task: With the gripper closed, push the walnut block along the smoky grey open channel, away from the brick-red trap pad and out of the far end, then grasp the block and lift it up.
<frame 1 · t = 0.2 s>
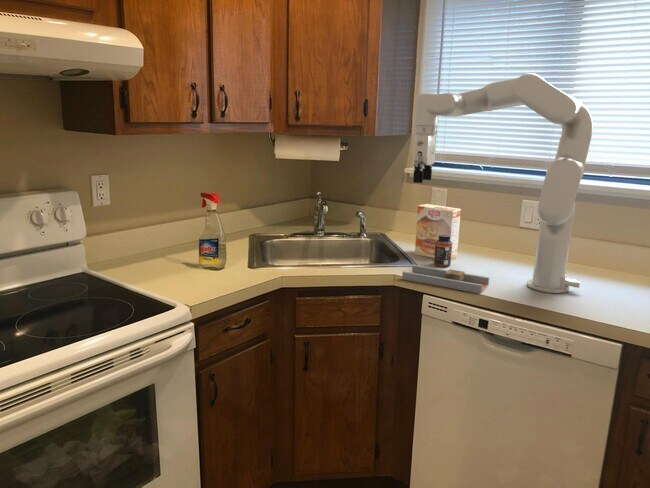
hand: (422, 181, 188), 31 cm above the worktop, fingers open, 9 cm apart
walnut block: (453, 284, 176), on the worktop
channel: (445, 281, 178), on the worktop
coffeecake box: (435, 256, 210), on the worktop
supplement bottle: (442, 265, 197), on the worktop
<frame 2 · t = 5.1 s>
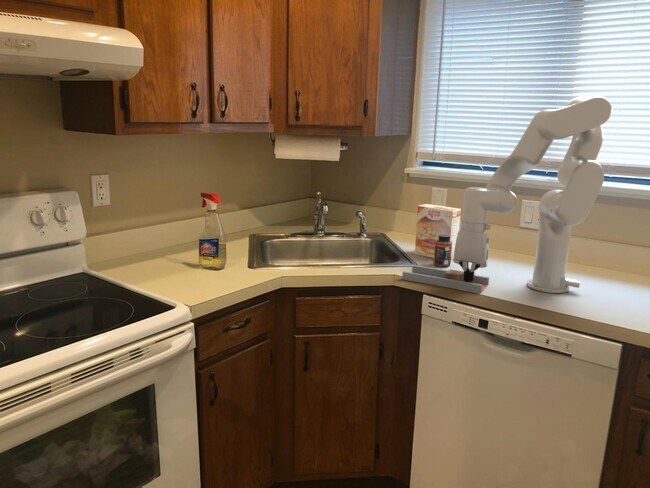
hand: (468, 282, 174), 1 cm above the worktop, fingers closed
walnut block: (453, 284, 176), on the worktop, touching gripper
everything else where it was.
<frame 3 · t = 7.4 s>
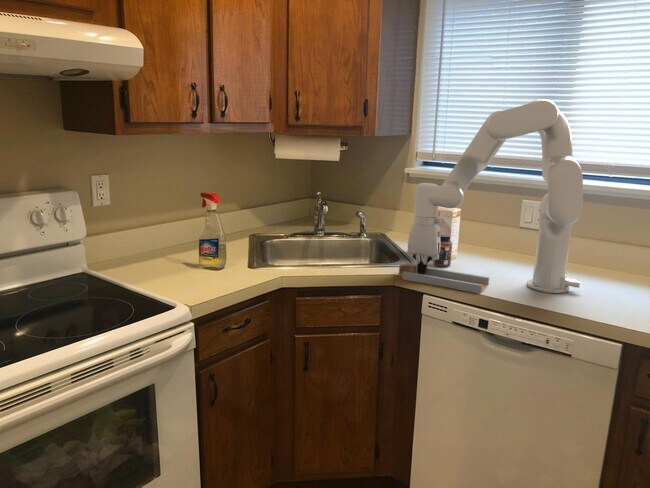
hand: (421, 274, 181), 1 cm above the worktop, fingers closed
walnut block: (408, 275, 184), on the worktop, touching gripper
everything else where it was.
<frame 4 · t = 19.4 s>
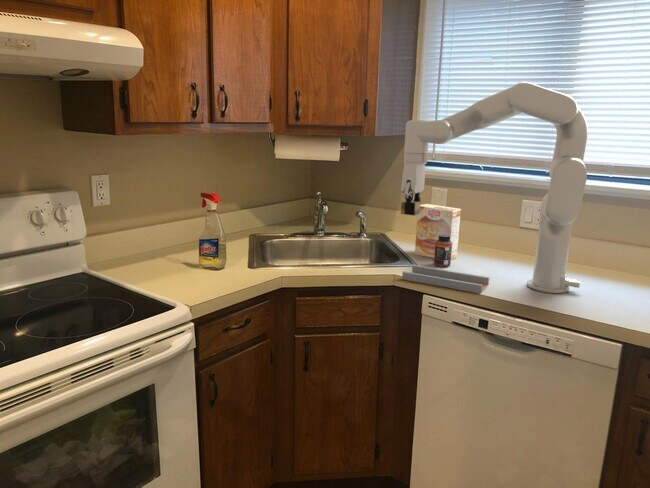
hand: (412, 212, 182), 21 cm above the worktop, fingers closed on walnut block, 5 cm apart
walnut block: (410, 213, 182), point 21 cm above the worktop, touching gripper
everything else where it was.
at the end: the gripper is holding walnut block; walnut block inside the target area (2.4 cm from its centre), point 20.8 cm above the worktop; walnut block moved 27.4 cm from its start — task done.
